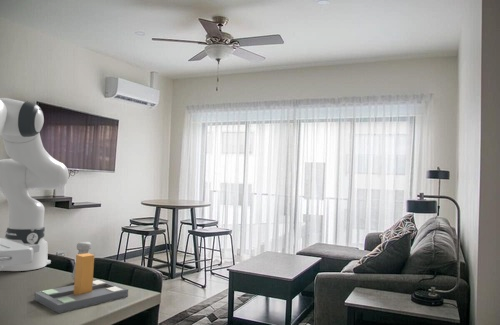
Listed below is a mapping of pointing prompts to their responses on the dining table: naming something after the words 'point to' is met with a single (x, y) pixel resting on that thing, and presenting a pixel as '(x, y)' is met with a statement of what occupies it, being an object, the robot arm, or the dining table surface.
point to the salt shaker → (82, 252)
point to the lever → (84, 273)
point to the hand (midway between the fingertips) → (37, 247)
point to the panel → (79, 296)
